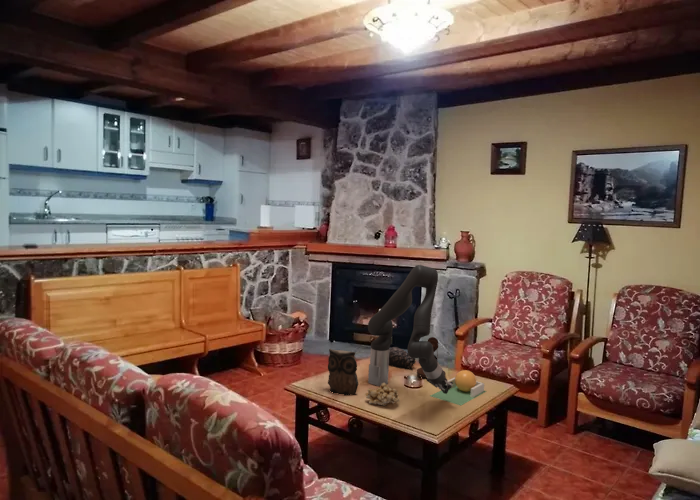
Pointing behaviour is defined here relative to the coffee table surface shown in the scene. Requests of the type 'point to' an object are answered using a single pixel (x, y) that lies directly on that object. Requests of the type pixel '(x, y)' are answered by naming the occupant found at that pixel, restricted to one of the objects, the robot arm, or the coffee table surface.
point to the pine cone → (400, 359)
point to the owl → (342, 372)
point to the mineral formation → (382, 395)
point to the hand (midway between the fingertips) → (445, 391)
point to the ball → (465, 380)
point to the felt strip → (455, 396)
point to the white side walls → (474, 391)
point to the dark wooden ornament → (435, 347)
